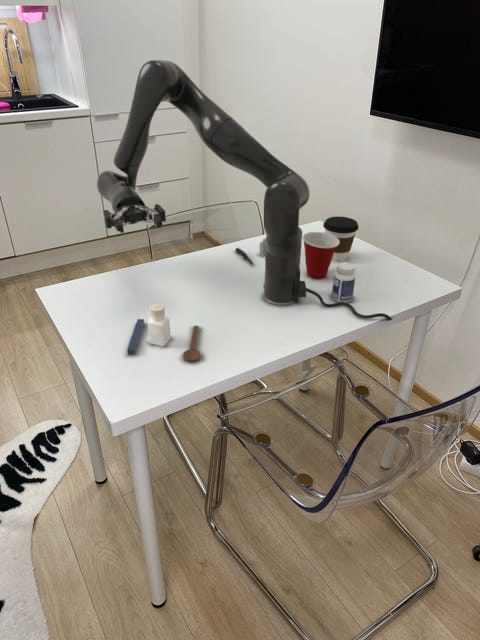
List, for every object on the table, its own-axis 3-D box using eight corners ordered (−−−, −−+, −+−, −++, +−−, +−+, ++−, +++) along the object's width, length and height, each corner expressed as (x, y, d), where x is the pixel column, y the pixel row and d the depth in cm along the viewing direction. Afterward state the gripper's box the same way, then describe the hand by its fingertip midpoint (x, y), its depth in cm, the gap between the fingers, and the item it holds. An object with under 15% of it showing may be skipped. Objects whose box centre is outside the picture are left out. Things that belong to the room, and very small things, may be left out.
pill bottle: (354, 295, 137) (359, 263, 132) (349, 305, 132) (354, 272, 127) (334, 291, 139) (338, 259, 134) (328, 300, 134) (332, 267, 129)
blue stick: (144, 324, 123) (144, 319, 123) (134, 354, 112) (134, 349, 112) (138, 324, 123) (137, 319, 123) (127, 354, 112) (127, 349, 112)
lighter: (262, 256, 159) (263, 233, 154) (259, 254, 160) (259, 231, 155) (278, 250, 163) (279, 227, 158) (274, 248, 164) (275, 226, 159)
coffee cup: (357, 264, 154) (362, 228, 148) (322, 264, 154) (326, 228, 148) (350, 250, 163) (355, 216, 157) (318, 250, 163) (321, 215, 157)
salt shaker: (148, 344, 116) (145, 309, 111) (157, 335, 119) (153, 301, 114) (163, 347, 115) (160, 312, 110) (171, 338, 118) (169, 304, 113)
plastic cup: (334, 285, 142) (339, 247, 136) (297, 281, 144) (300, 243, 138) (336, 269, 151) (340, 232, 145) (301, 265, 153) (304, 229, 147)
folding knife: (254, 267, 152) (254, 261, 151) (251, 267, 152) (251, 261, 151) (237, 251, 162) (237, 245, 161) (234, 251, 162) (234, 246, 161)
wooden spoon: (204, 328, 122) (204, 325, 122) (200, 362, 110) (199, 359, 110) (188, 328, 122) (188, 325, 122) (182, 362, 110) (182, 359, 110)
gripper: (96, 193, 121) (107, 214, 108) (153, 187, 126) (169, 207, 113) (101, 222, 125) (111, 246, 112) (156, 215, 130) (171, 237, 117)
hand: (140, 226), depth 113 cm, fingers open, 8 cm apart
